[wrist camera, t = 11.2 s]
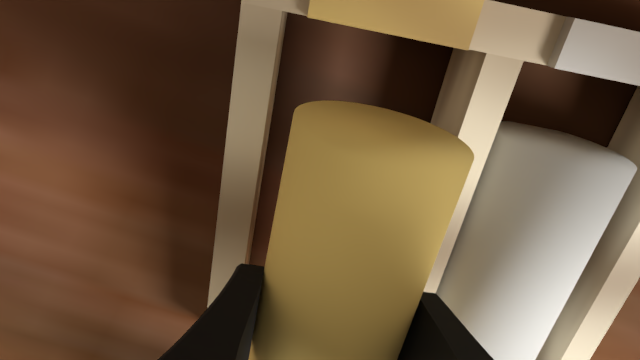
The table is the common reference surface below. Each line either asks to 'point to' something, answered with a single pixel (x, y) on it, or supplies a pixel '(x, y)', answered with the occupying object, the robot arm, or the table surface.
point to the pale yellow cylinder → (355, 231)
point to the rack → (447, 125)
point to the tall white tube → (530, 235)
